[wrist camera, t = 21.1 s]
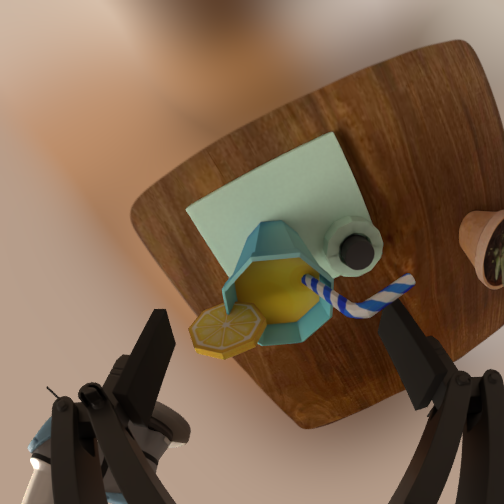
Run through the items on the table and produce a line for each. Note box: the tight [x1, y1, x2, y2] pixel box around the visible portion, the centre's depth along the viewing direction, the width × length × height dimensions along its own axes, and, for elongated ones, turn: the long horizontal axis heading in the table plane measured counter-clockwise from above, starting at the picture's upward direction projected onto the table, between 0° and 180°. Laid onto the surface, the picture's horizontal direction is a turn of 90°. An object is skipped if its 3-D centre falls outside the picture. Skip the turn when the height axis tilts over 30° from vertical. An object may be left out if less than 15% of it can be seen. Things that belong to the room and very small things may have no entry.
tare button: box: [341, 235, 375, 270], centre depth 25 cm, size 3×3×2 cm
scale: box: [186, 132, 383, 279], centre depth 27 cm, size 16×14×3 cm
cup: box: [188, 220, 415, 360], centre depth 20 cm, size 14×8×15 cm, turn 119°
